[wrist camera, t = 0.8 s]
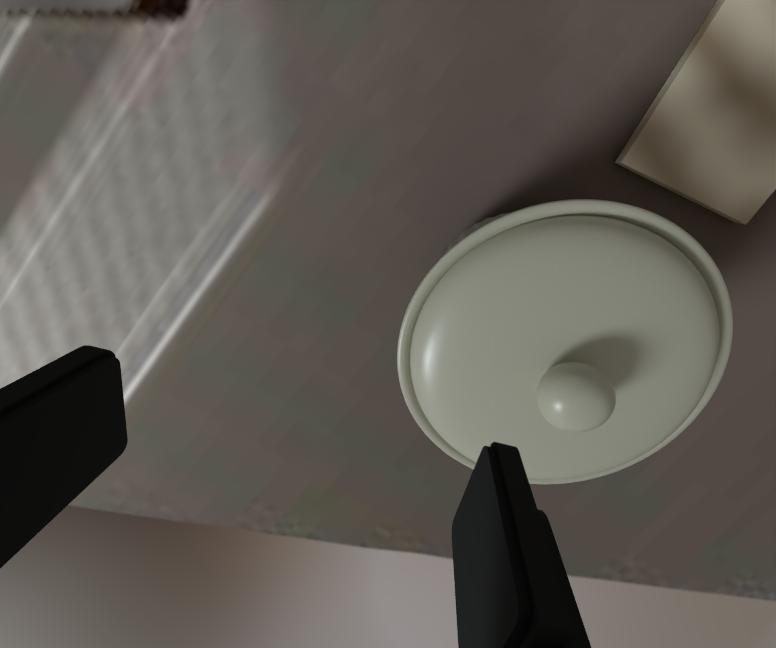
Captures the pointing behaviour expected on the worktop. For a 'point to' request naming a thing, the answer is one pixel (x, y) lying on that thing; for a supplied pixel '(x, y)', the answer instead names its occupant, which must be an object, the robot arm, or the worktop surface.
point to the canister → (565, 338)
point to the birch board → (716, 115)
